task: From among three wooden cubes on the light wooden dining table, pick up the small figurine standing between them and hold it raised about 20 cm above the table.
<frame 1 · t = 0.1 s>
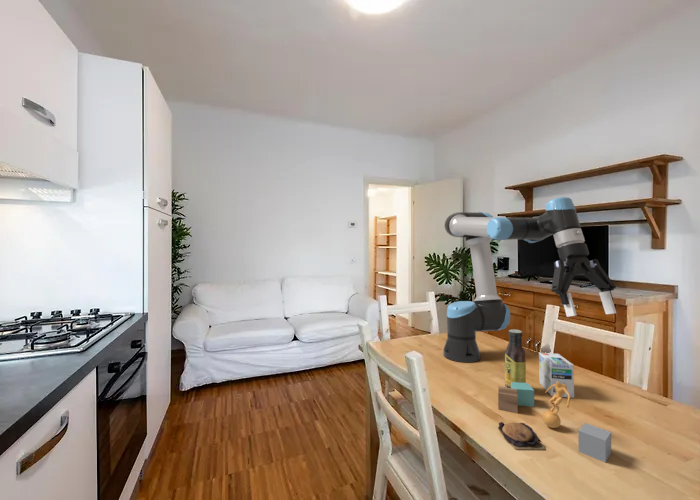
hand: (591, 315, 91), 28 cm above the table, tool tilted 20°, fingers open, 13 cm apart
bread roll: (519, 439, 79), on the table
figurine: (555, 427, 84), on the table
walnut cube: (507, 407, 94), on the table, touching teal painted cube
light bulb box: (555, 390, 104), on the table
sauce bottle: (515, 390, 105), on the table
slate grey cube: (594, 452, 73), on the table
teal painted cube: (522, 402, 97), on the table, touching walnut cube
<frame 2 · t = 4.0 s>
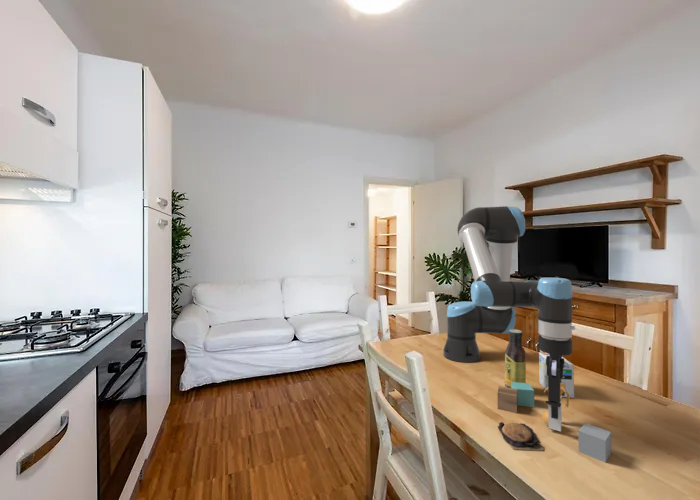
hand: (555, 423, 83), 1 cm above the table, tool pointing down, fingers closed on figurine, 5 cm apart
figurine: (555, 426, 84), on the table, touching gripper
walnut cube: (507, 407, 94), on the table
teal painted cube: (522, 402, 97), on the table
everything else where it was.
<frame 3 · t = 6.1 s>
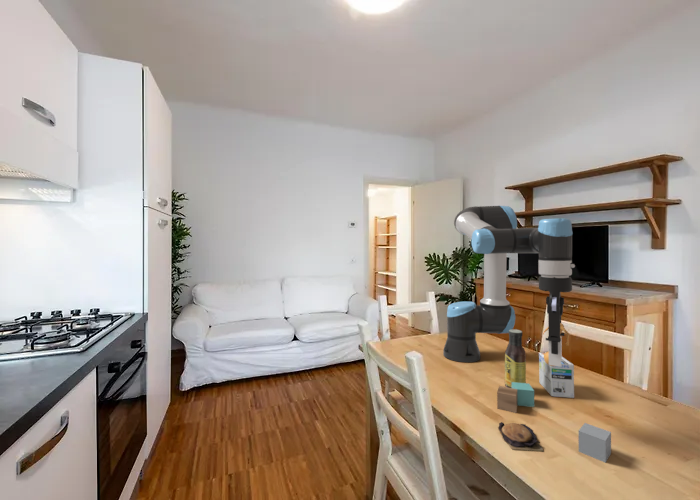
hand: (555, 362, 85), 17 cm above the table, tool pointing down, fingers closed on figurine, 4 cm apart
figurine: (556, 365, 86), point 15 cm above the table, touching gripper
everything else where it was.
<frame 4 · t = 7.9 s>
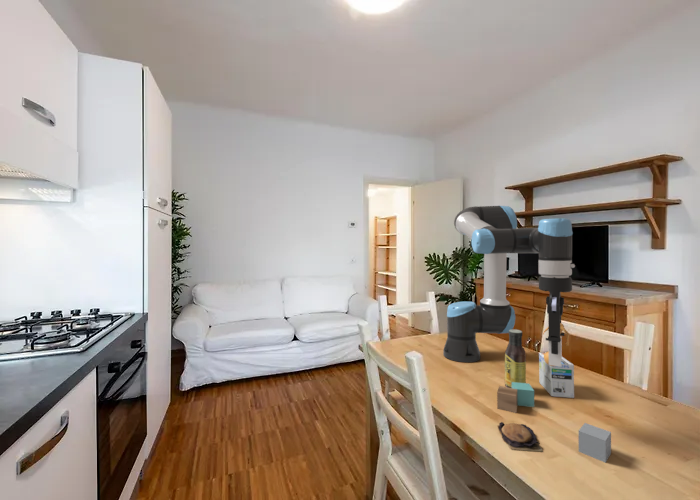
hand: (555, 362, 85), 17 cm above the table, tool pointing down, fingers closed on figurine, 4 cm apart
figurine: (556, 365, 86), point 15 cm above the table, touching gripper
everything else where it was.
at the end: the gripper is holding figurine; figurine point 15.4 cm above the table; walnut cube moved 0.2 cm from its start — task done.
